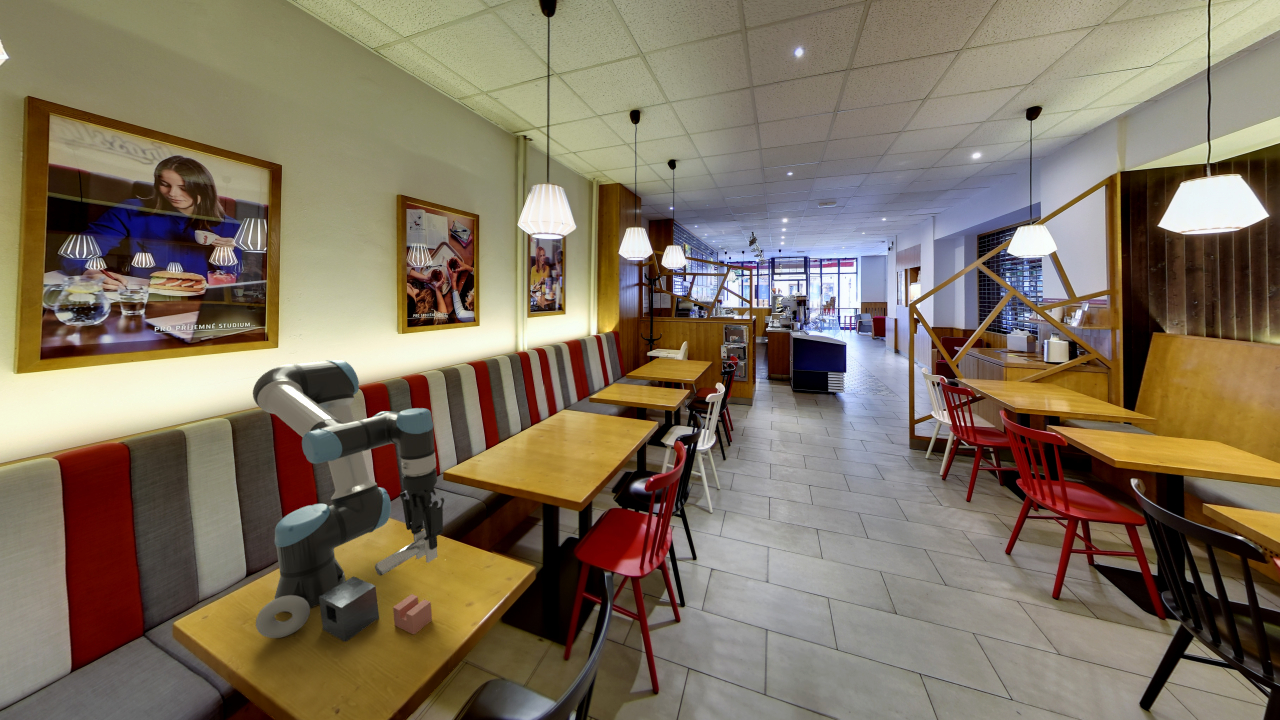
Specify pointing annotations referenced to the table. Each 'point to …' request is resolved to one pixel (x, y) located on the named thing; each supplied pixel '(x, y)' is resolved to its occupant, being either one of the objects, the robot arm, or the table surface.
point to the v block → (412, 614)
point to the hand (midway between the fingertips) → (426, 557)
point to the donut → (278, 629)
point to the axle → (400, 556)
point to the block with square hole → (349, 608)
